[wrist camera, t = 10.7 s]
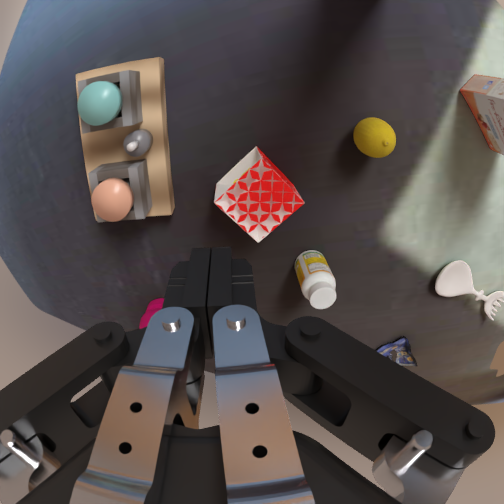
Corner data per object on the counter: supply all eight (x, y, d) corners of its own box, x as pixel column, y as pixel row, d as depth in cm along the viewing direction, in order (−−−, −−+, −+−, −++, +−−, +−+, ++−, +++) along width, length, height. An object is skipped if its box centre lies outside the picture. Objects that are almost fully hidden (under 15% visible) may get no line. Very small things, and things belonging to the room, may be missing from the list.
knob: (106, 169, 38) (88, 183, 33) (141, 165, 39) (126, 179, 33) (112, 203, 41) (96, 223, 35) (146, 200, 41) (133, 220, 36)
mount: (84, 74, 34) (59, 74, 27) (163, 59, 34) (150, 53, 28) (102, 212, 45) (84, 234, 38) (175, 207, 45) (165, 228, 39)
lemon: (347, 152, 43) (368, 165, 36) (344, 115, 40) (366, 122, 33) (380, 149, 43) (405, 162, 36) (378, 114, 40) (404, 121, 33)
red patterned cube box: (256, 145, 42) (261, 157, 35) (292, 183, 45) (304, 203, 38) (215, 183, 44) (213, 203, 37) (253, 218, 47) (257, 243, 40)
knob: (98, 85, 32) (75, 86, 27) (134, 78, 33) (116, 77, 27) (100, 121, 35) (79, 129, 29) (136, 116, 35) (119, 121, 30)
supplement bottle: (311, 243, 50) (326, 276, 42) (330, 261, 52) (348, 296, 44) (287, 264, 52) (297, 300, 43) (307, 281, 54) (320, 318, 45)
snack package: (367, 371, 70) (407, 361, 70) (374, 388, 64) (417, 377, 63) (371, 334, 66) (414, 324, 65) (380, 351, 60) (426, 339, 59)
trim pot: (129, 130, 36) (116, 136, 32) (152, 127, 36) (142, 132, 32) (131, 153, 38) (119, 161, 33) (154, 150, 38) (144, 158, 34)
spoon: (487, 314, 65) (493, 322, 62) (423, 284, 57) (431, 294, 54) (506, 289, 61) (513, 296, 58) (447, 249, 53) (456, 258, 50)
